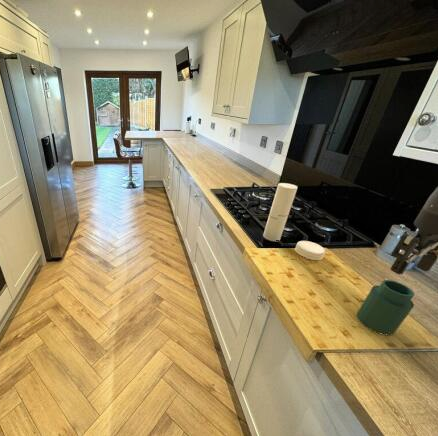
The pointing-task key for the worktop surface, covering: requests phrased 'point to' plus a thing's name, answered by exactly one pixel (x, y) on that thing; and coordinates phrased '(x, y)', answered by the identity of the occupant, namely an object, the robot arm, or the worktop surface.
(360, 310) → the green jar
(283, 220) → the cylindrical container
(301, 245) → the cream round disc
